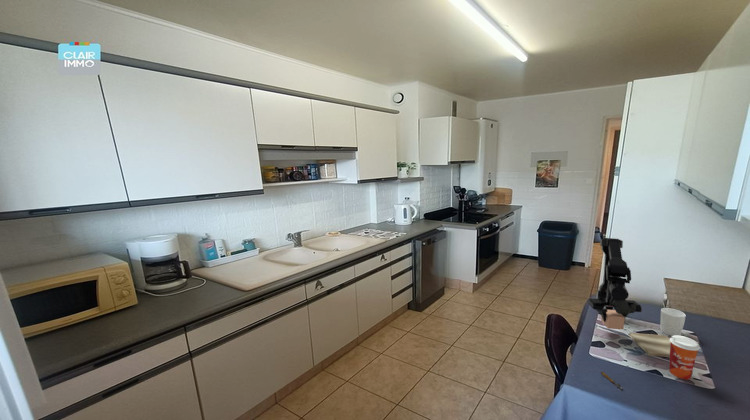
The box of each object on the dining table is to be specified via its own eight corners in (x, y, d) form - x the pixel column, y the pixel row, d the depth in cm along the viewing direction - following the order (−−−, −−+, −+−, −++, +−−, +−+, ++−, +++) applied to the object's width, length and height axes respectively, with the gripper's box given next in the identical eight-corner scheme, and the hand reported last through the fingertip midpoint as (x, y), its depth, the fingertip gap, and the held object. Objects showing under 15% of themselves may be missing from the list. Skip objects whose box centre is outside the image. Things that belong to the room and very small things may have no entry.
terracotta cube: (601, 321, 138) (602, 309, 137) (615, 322, 137) (617, 310, 136) (608, 328, 133) (609, 316, 132) (623, 329, 131) (624, 317, 130)
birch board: (628, 335, 134) (629, 332, 134) (665, 337, 131) (665, 335, 131) (649, 355, 121) (649, 352, 120) (690, 358, 118) (691, 356, 117)
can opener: (600, 374, 113) (600, 371, 113) (606, 373, 113) (606, 371, 113) (619, 392, 104) (620, 389, 104) (626, 392, 104) (626, 389, 104)
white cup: (688, 337, 131) (691, 316, 129) (669, 337, 131) (672, 317, 129) (670, 327, 138) (673, 307, 137) (653, 327, 139) (656, 308, 137)
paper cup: (670, 377, 109) (674, 344, 106) (662, 364, 115) (666, 332, 113) (699, 384, 105) (705, 349, 103) (689, 370, 112) (694, 337, 109)
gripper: (600, 297, 126) (597, 330, 129) (652, 300, 122) (648, 334, 125) (588, 286, 137) (586, 317, 140) (635, 288, 133) (631, 319, 135)
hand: (612, 322), depth 135 cm, fingers closed on terracotta cube, 6 cm apart
